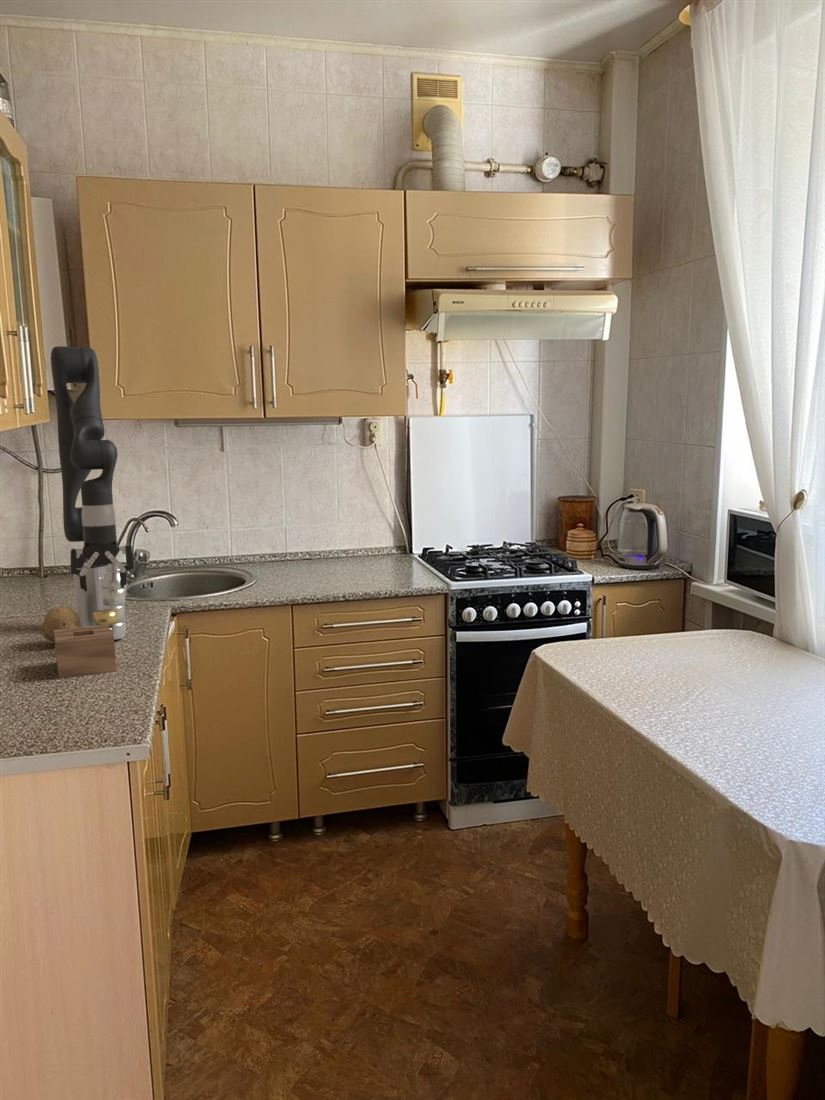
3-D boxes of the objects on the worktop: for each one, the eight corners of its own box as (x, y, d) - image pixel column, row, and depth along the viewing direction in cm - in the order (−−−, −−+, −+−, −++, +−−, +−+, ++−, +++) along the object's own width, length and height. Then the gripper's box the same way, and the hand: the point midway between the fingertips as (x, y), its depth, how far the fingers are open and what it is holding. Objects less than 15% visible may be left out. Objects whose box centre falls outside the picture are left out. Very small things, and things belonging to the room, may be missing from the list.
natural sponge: (86, 645, 211) (83, 606, 210) (49, 651, 206) (46, 612, 204) (75, 638, 218) (72, 601, 217) (39, 644, 213) (36, 606, 211)
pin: (95, 649, 207) (92, 610, 206) (119, 646, 210) (116, 608, 208) (97, 654, 202) (94, 615, 201) (121, 651, 205) (118, 612, 203)
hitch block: (56, 663, 195) (54, 630, 194) (110, 656, 200) (108, 624, 199) (58, 678, 184) (55, 643, 182) (116, 671, 189) (113, 636, 187)
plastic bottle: (116, 634, 220) (118, 560, 218) (131, 639, 216) (133, 563, 214) (94, 638, 215) (95, 562, 213) (109, 643, 211) (110, 565, 209)
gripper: (128, 520, 208) (132, 584, 210) (66, 523, 202) (71, 589, 204) (131, 522, 201) (136, 588, 203) (68, 526, 195) (73, 594, 197)
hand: (103, 589), depth 204 cm, fingers open, 8 cm apart
